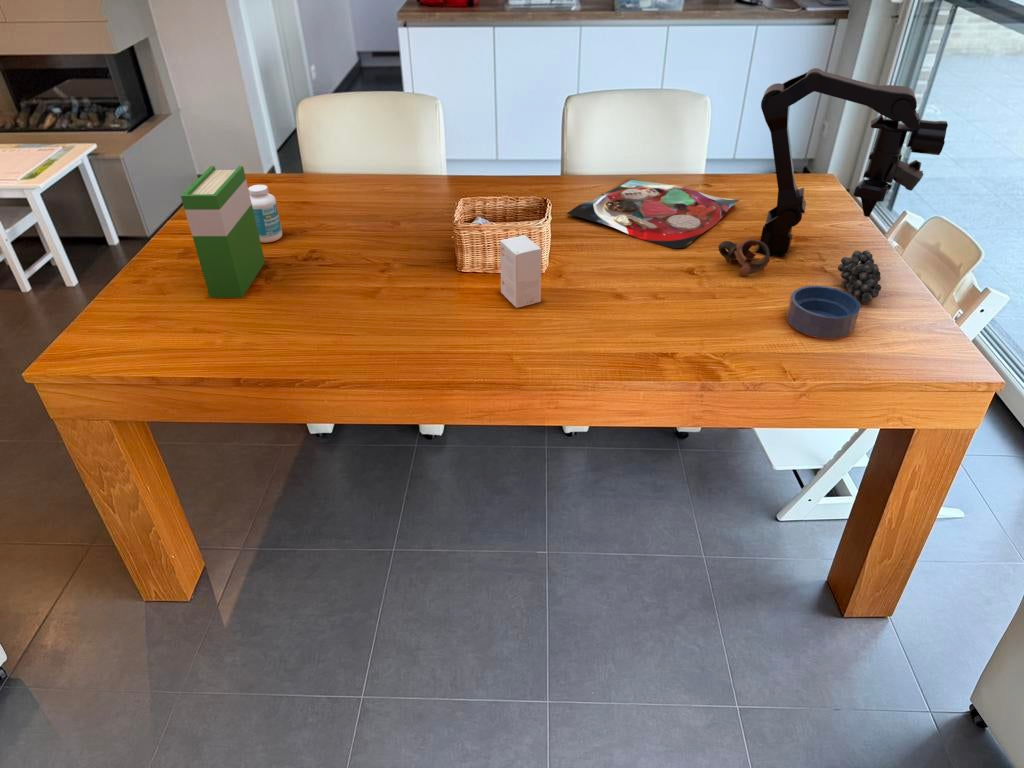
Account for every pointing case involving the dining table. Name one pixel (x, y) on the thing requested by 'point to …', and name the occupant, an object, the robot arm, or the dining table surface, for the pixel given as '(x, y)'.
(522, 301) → the small box
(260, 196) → the pill bottle
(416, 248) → the dining table surface
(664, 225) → the platter
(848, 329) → the bowl
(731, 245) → the brown looped ring sculpture
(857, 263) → the fruit
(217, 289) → the hardback book
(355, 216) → the dining table surface
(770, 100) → the robot arm
